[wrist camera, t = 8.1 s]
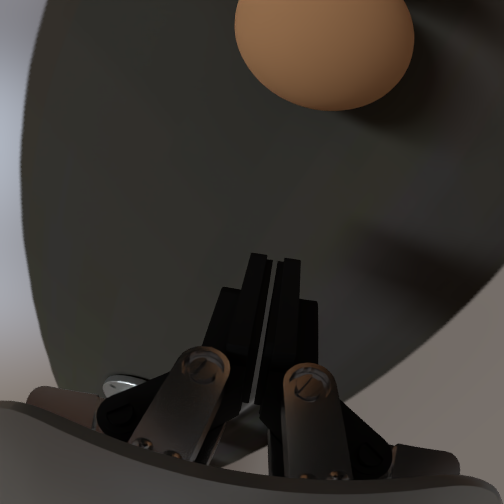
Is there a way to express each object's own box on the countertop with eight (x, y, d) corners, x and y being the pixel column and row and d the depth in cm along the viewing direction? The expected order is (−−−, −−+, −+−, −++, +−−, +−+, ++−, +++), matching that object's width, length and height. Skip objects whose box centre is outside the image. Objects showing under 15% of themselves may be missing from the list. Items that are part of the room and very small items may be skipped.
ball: (416, -71, 4) (373, -15, 9) (200, -63, 5) (238, -6, 10) (457, 116, 6) (394, 106, 12) (234, 128, 7) (260, 114, 13)
